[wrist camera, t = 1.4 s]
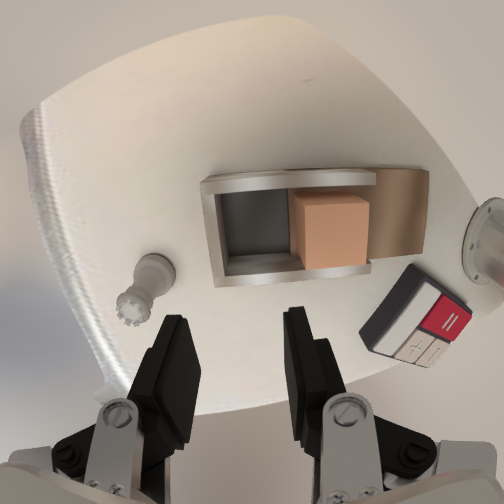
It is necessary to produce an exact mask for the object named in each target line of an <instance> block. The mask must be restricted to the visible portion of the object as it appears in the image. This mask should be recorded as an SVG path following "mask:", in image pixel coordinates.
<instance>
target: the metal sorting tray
mask: <svg viewBox="0 0 504 504" xmlns="http://www.w3.org/2000/svg"><path fill="white" fill-rule="evenodd" d="M200 191H201V199H202V206H203V214H204V221H205V228H206V235H207V242H208V248H209V255H210V261H211V268H212V274H213V280H214V286H215V288H218V287H232V286H246V285H259V284H271V283H282V282H294V281H304V280H315V279H325V278H334V277H344V276H353V275H361V274H370V273H371V265H372V263H371V262H370V261H369V260H368V259H375V258H385V257H394V256H404V255H413V254H422V252H423V245H424V237H425V229H426V219H427V208H428V193H429V171H425V170H420V169H400V168H310V169H288V170H272V171H259V172H247V173H236V174H226V175H217V176H208V177H207V178H206V179H204V180H203V181H202V182H200ZM331 191H348V192H350V193H352V194H354V195H356V196H358V197H360V198H362V199H364V200H365V201H367V202H369V226H368V243H367V256H366V264H363V265H353V266H343V267H333V268H323V269H312V270H306V269H305V267H304V265H303V262H302V260H301V257H300V255H299V253H298V250H297V248H296V235H295V209H294V193H309V192H331Z"/></svg>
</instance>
